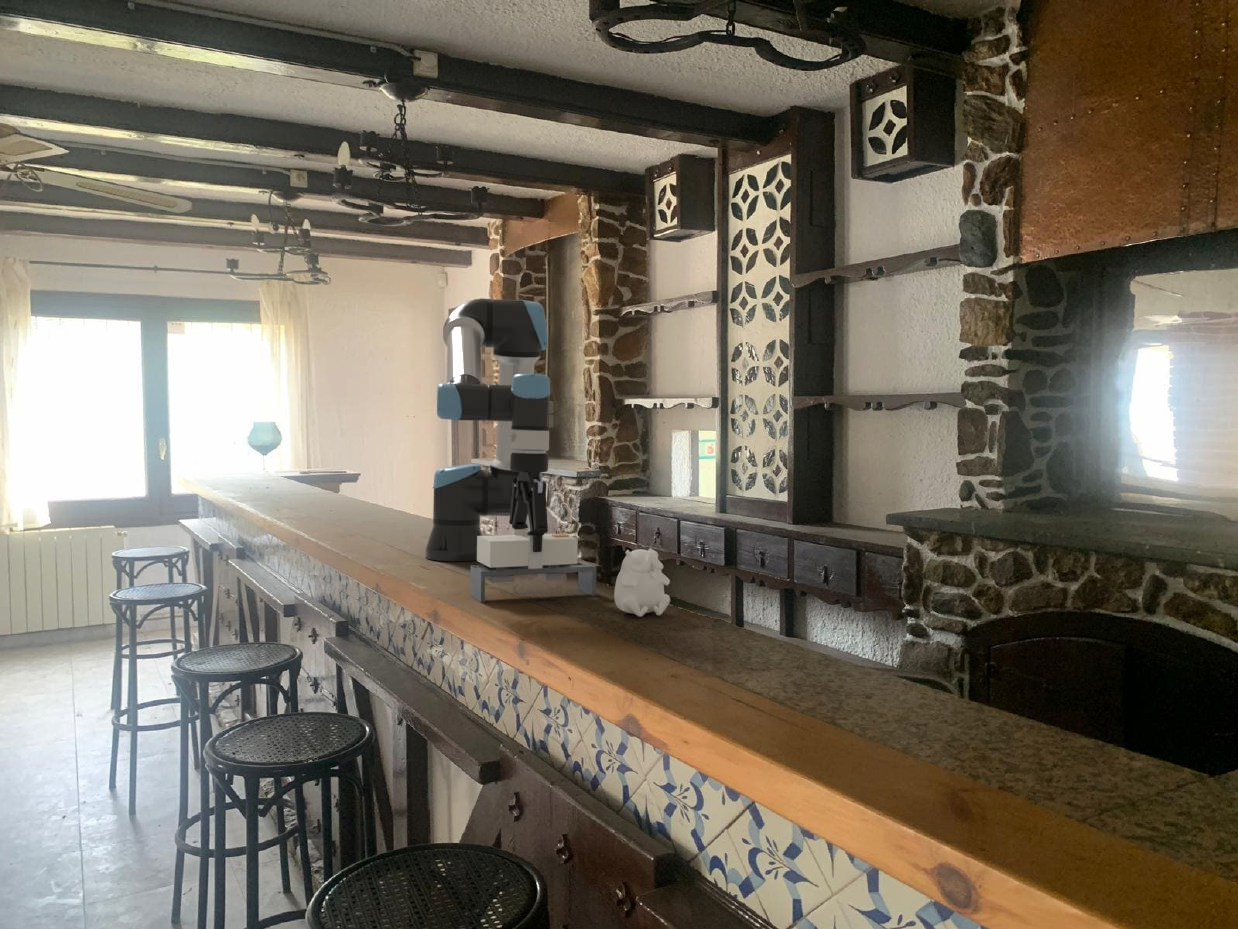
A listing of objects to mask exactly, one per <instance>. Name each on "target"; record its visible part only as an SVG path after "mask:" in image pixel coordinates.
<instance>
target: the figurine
mask: <svg viewBox="0 0 1238 929" xmlns="http://www.w3.org/2000/svg"><path fill="white" fill-rule="evenodd" d="M624 553H625V557H624V558H623V560H622V563H621V567H620V571H619V572H618V575H617V577H616V581H615V585H614V596H613V597H614V603H615V605H616V607H617V609H618V610H620V611H623V612H624V613H627V614H631V615H632V614H633V615H636V616H637V617H640V618H641V617H643V616H644V615H645V614H650V613H651V612H655V614H656V616H661V615H663V613H664V612H665V610H666V609H667V608H668V606H669V604H670V603H671V597H670V595H669V594H667V593H665V586H669V585H670V583H671V581H670V579H669V578H668V577H667V576H666V575H665V574H664V572H662V570H663V569H664V564H663V563H662V562H661V561H660V559H659V553H658V551H656V550H654V549H652V548H651V547H650V548H649V549H639V548H638V549H635V550H634V549H633V550H632V551H630V550H629V549H626V551H625V552H624Z"/></svg>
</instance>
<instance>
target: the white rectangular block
mask: <svg viewBox="0 0 1238 929" xmlns="http://www.w3.org/2000/svg"><path fill="white" fill-rule="evenodd" d="M578 544H579V542H578V538H577V537H572V536H570V535H568V534H566V533H544V535H543V562H542V565H549V568H556V565H562V564H577V561H578ZM528 545H529V536H528V535H513V534H504V535H503V534H501V535H482V536H477V560H476V562H479V563H480V564H481V565H486V566H488V567H490V568H491V567H496V570H504V567H515V566H528ZM537 575H538V578H540V579H541V580H545V581H556V580H557V581H558V580H567V575H568V574H567V573H549V574H537ZM485 580H487V581H489V582H491V583H493V584H496V583H515V575H506V576H485Z"/></svg>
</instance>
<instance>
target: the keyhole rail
mask: <svg viewBox="0 0 1238 929" xmlns="http://www.w3.org/2000/svg"><path fill="white" fill-rule="evenodd" d="M469 569H470V571H469V572H470V573H469V574H470V576H469V578H470V579H469V582H470V583H469V596H470V597H472V598H473V599H475V600H476V601H478V602H479V603H485V601H486V576H506V575H514V576H524V575H538V574H549V573H569V574H570V573H578V574H577V578H578V579H577V590H579V591H580V592H583V593H584V594H588V595H589V596H591V597H596V596H597V595H596V594H597V565H594V564H592V563H590V562H587V561H584V560H577V564H562V565H556V568H549V565H542V568H538V569H528V566H515V567H504V570H496V567H491V568H490V567H488V566H486V565H484V564H472V565H471V564H470V568H469Z"/></svg>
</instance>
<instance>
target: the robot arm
mask: <svg viewBox="0 0 1238 929" xmlns="http://www.w3.org/2000/svg"><path fill="white" fill-rule="evenodd" d="M547 326H548V325H547V319H546V313H545V308H544V307H543V304H541V303H540V302H539V301H531V300H525V299H498V298H497V299H493V298H483V297H482V298H474V299H472V300H471V299H470V300H468V301H466V302H464V303H462V304H460V305H459V306H458V307H456V308H455V309H454V310H453V311H452V312H451V313H450V314H449V316H447V318H446V320H445V322H444V326H443V330H442V332H443V333H442V339H443V342H444V344H445V346H446V348H447V349H446V353H447V354H446V382H444V383H443V382H442V383H439V384H438V386H437V390H436V391H437V392H436V393H437V395H436V414H437V417H438V418H439V419H442V420H451V421H455V422H456V421H457V422H458V421H485V422H486V421H487V422H496V423H497V429H496V430H497V431H496V454H495V457H494V458H493V459H492V460H491V461H490V462H489V463H490V464H489V469H483V468H482V465H481V464H479V463H474V464H473V463H471V464H459V465H452V466H446V467H442V468H441V467H440V468H439V469H437V470H436V471H435V472H434V476H433V486H432V489H433V506H432V507H433V508H432V510H433V512H432V527H431V528H432V529H431V532H430V535H429V538H428V541H427V542H426V543H427V544H426V546H425V548H424V549H425V550H424V551H425V553H424V554H425V556H424V557H425V558H426V559H427V560H433V561H442V562H469V561H471V562H472V561H477V536H483V533H482V530H481V517H486V516H487V517H509V520H508V523H509V525H511V527H512V535H528V536H529V545H528V569H538V568H542V562H543V535H544V534H548V532H549V529H548V527H549V525H548V511H547V510H548V506H547V486H548V485H547V482H546V481H542V479H543V476H542V474H543V473H546V472H548V471H549V454H548V453H546V452H547V451H549V450H550V427H549V425H550V398H551V392H552V390H551V383H550V377H549V376H548V375H546V374H539V373H535V363H536V362H537V361H538V360H539V359H541V356H542V351H545V350H547V349H548V329H547ZM482 348H493V349H492V350H493V351H492V352H493V353H492V354H493V356H494V358H495V359H496V360H497V361H498V363H499V365H498V366H499V367H498V384H483V373H482V350H481V349H482ZM527 518H528V519H527ZM527 520H528V523H529V525H528V523H527ZM528 529H529V531H528Z"/></svg>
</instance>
